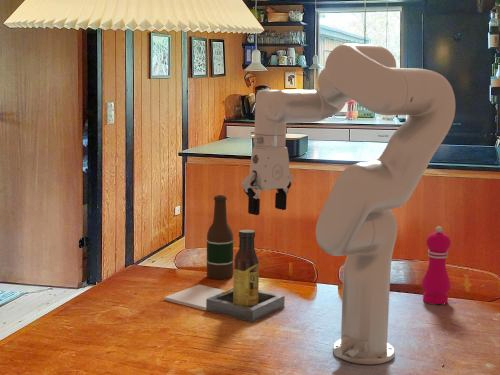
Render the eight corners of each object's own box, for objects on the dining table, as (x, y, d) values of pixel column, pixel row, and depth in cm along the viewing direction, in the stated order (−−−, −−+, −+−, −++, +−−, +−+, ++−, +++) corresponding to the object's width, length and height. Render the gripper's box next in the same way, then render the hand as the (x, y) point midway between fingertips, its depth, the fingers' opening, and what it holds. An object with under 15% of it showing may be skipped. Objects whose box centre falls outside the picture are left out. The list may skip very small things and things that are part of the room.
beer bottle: (222, 271, 198) (222, 192, 194) (238, 277, 192) (239, 196, 188) (201, 275, 193) (201, 195, 189) (217, 281, 187) (217, 198, 183)
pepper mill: (415, 301, 171) (419, 226, 169) (430, 295, 176) (433, 222, 174) (440, 307, 166) (444, 230, 163) (454, 301, 171) (459, 226, 168)
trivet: (206, 310, 162) (206, 307, 162) (164, 299, 170) (164, 296, 170) (239, 296, 173) (239, 293, 173) (198, 287, 181) (198, 284, 181)
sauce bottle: (253, 314, 160) (254, 234, 157) (229, 311, 162) (230, 232, 159) (261, 306, 166) (262, 229, 163) (238, 303, 168) (239, 227, 165)
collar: (252, 322, 154) (252, 308, 153) (206, 310, 162) (206, 297, 161) (284, 307, 165) (284, 294, 165) (239, 296, 173) (239, 284, 173)
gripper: (256, 145, 148) (254, 219, 151) (304, 141, 160) (301, 209, 163) (233, 142, 153) (231, 213, 156) (281, 138, 165) (279, 204, 168)
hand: (267, 211), depth 160 cm, fingers open, 9 cm apart
